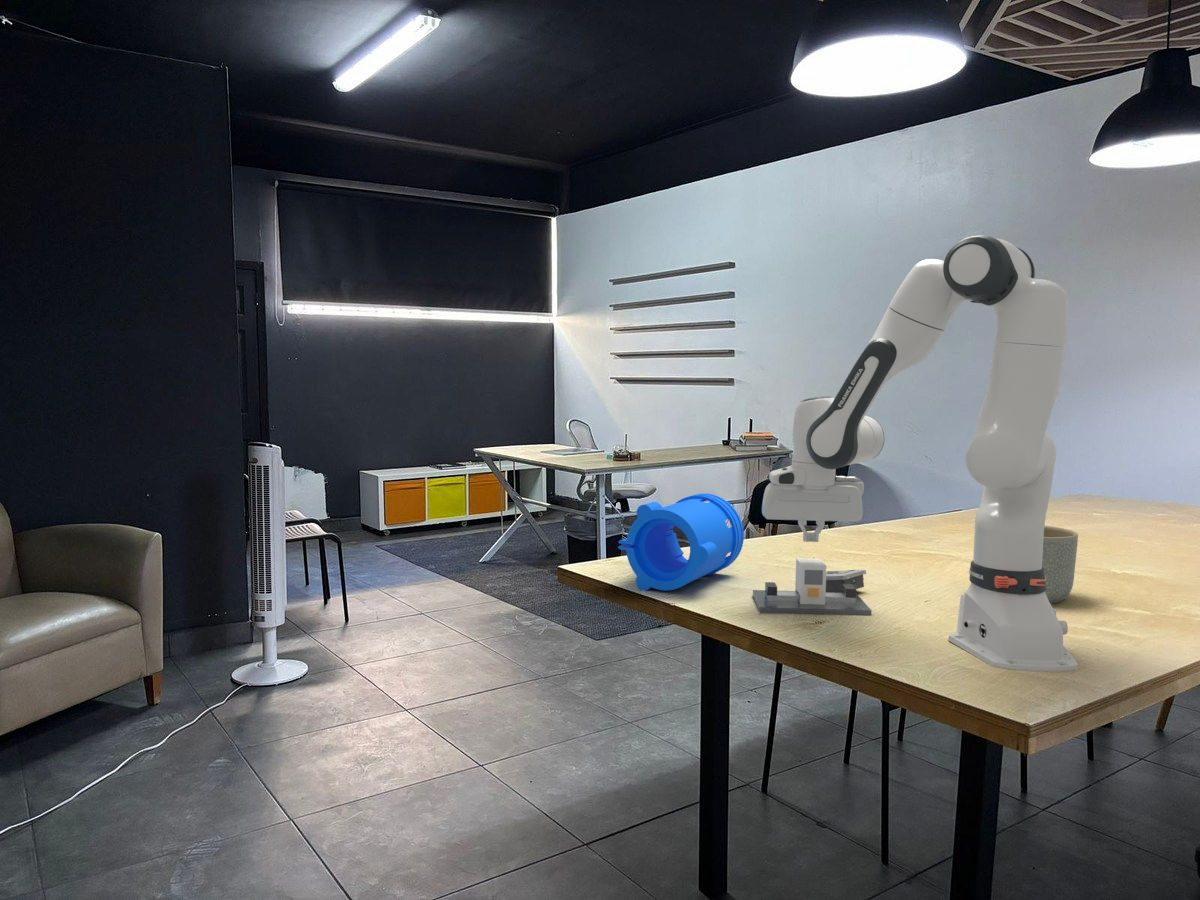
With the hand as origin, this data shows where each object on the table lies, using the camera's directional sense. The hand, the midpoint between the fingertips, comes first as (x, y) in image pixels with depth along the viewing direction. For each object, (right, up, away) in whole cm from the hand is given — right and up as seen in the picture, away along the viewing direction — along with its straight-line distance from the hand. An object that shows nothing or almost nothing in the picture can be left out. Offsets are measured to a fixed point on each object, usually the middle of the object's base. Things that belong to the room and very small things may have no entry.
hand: (810, 541), depth 178 cm
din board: (0, -14, +1) cm, 14 cm away
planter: (+50, -14, +9) cm, 52 cm away
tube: (-24, -12, +22) cm, 35 cm away
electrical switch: (+12, -13, +15) cm, 23 cm away
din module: (0, -12, +1) cm, 12 cm away
